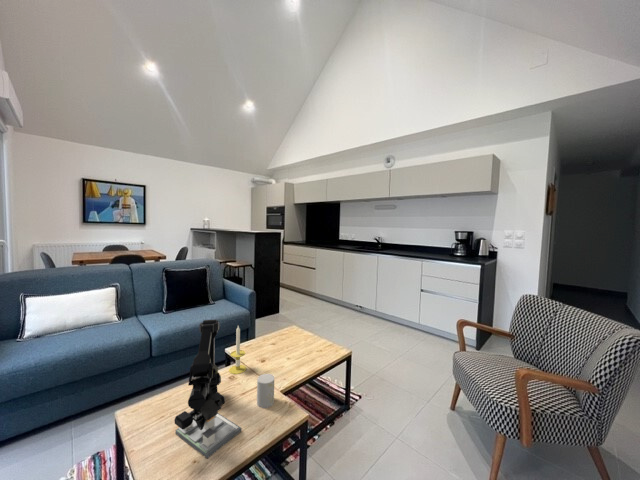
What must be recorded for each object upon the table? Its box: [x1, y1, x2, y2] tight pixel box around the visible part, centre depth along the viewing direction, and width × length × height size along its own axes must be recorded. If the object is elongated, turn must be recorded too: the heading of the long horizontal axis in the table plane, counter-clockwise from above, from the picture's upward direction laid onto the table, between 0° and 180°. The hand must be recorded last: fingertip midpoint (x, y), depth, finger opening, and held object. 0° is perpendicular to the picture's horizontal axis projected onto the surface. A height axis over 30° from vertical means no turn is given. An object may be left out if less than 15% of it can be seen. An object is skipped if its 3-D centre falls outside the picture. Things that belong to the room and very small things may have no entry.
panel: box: [175, 413, 242, 459], centre depth 110 cm, size 21×16×2 cm
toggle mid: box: [204, 416, 215, 430], centre depth 110 cm, size 3×3×4 cm
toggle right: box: [203, 428, 215, 447], centre depth 102 cm, size 3×3×4 cm
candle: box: [228, 325, 247, 375], centre depth 157 cm, size 10×10×27 cm
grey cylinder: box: [256, 373, 275, 409], centre depth 129 cm, size 8×8×12 cm
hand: (201, 429), depth 107 cm, fingers closed
